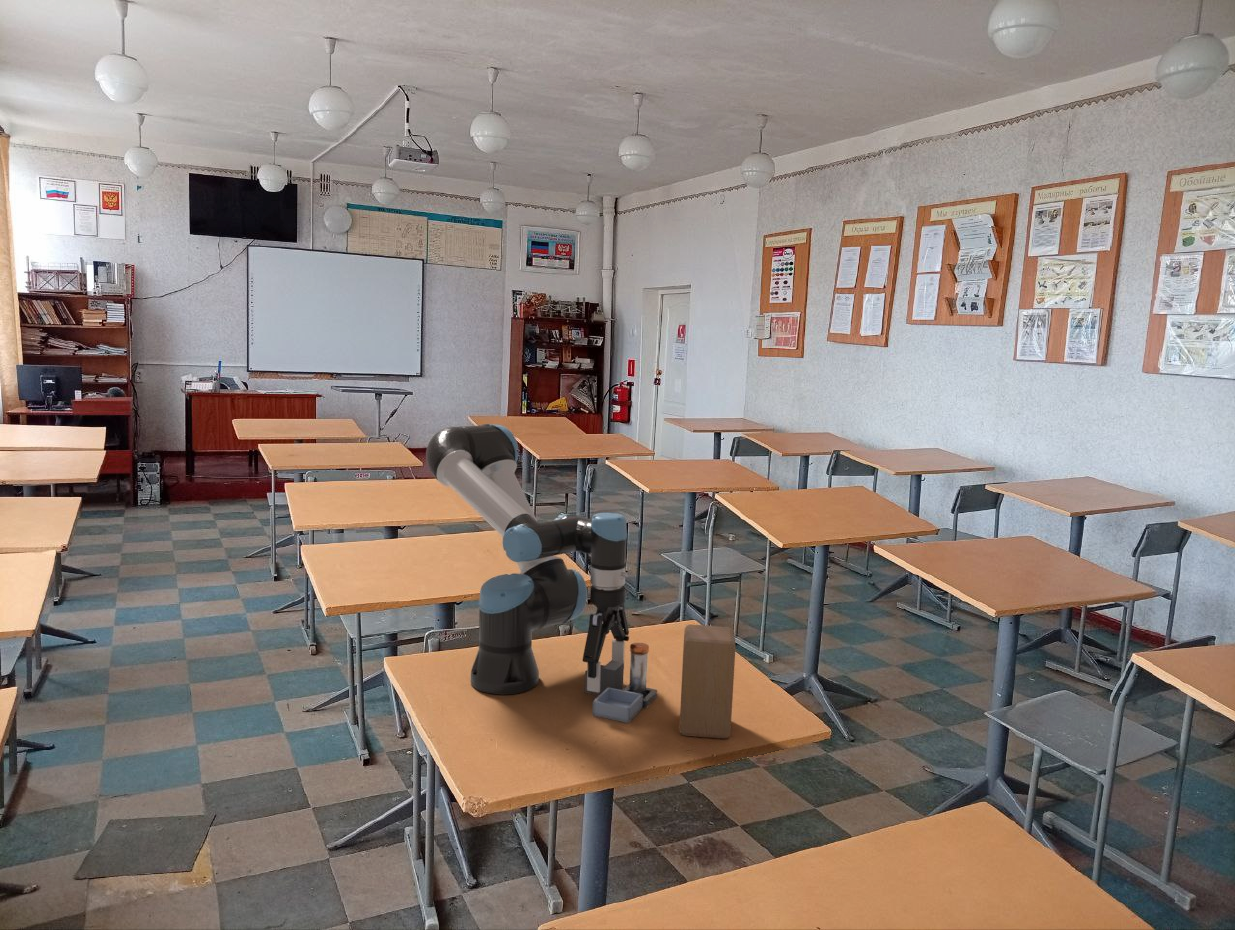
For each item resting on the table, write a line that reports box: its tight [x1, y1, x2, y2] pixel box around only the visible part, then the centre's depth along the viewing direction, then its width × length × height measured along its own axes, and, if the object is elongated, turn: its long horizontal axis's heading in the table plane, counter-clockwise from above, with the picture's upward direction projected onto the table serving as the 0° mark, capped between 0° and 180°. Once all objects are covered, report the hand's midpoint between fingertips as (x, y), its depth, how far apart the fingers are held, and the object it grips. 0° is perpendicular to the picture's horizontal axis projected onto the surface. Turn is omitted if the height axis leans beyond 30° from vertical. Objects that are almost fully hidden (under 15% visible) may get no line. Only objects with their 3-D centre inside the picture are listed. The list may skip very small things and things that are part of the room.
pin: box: [629, 642, 650, 699], centre depth 186 cm, size 4×4×12 cm
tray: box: [592, 687, 643, 724], centre depth 180 cm, size 8×8×3 cm
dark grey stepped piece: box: [584, 659, 625, 697], centre depth 190 cm, size 7×5×6 cm
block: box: [678, 624, 737, 739], centre depth 173 cm, size 10×10×20 cm
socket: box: [623, 683, 658, 709], centre depth 187 cm, size 7×7×2 cm
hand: (606, 679), depth 190 cm, fingers open, 13 cm apart
